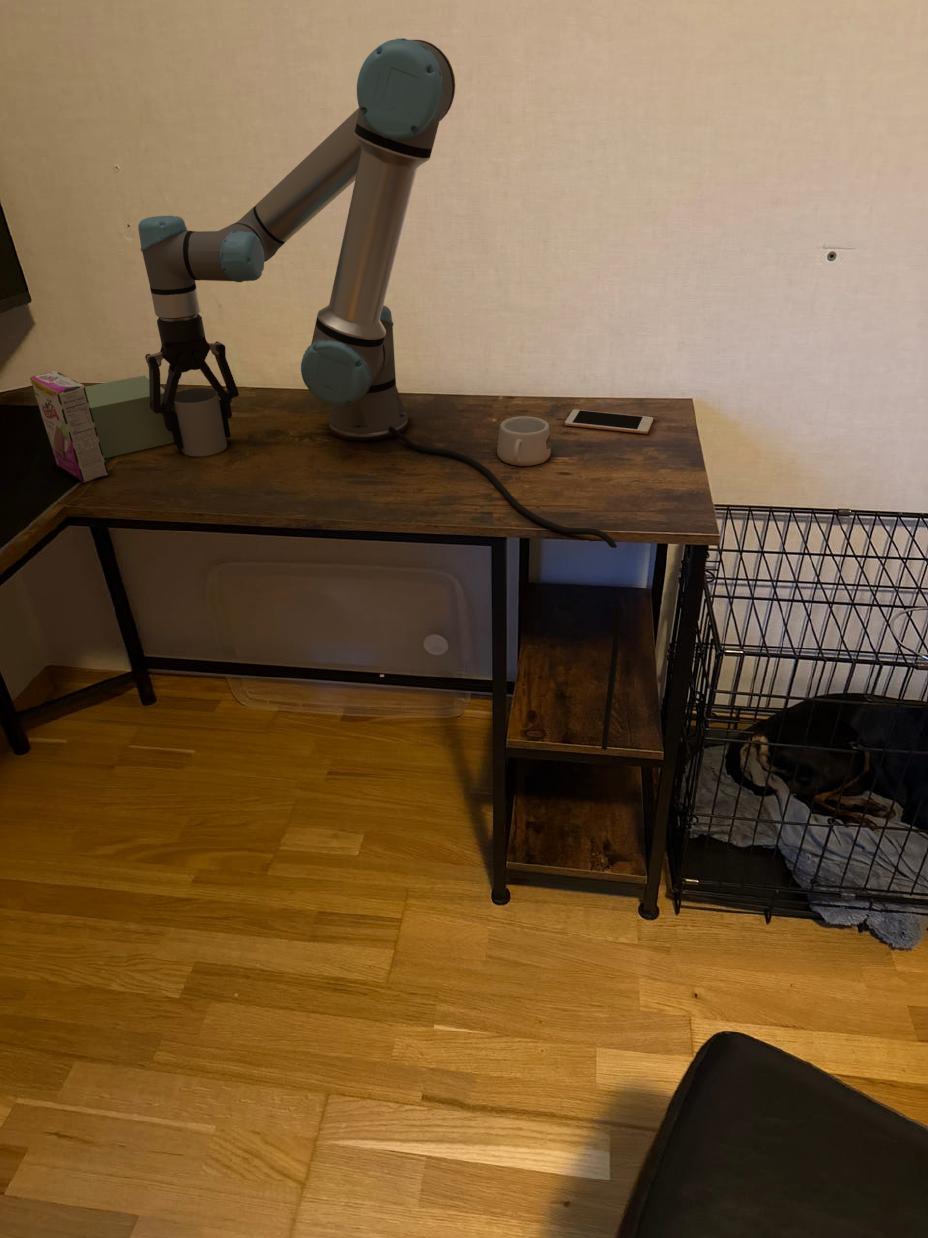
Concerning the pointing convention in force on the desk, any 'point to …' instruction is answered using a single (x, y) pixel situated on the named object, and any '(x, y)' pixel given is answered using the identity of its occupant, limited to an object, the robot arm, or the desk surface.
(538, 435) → the mug
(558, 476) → the desk surface
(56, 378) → the candy bar box
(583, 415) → the cell phone
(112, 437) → the cabinet
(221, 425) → the cup
